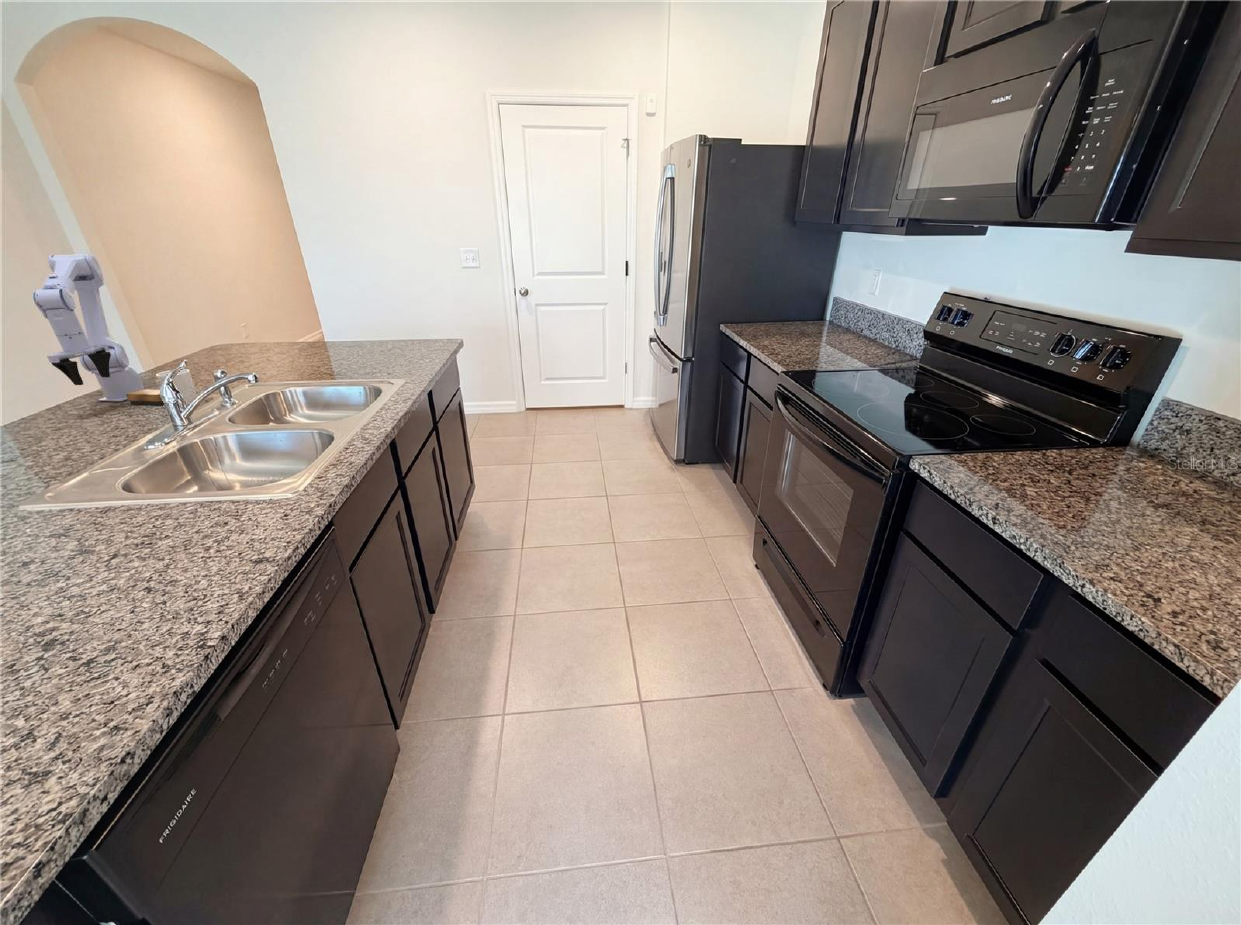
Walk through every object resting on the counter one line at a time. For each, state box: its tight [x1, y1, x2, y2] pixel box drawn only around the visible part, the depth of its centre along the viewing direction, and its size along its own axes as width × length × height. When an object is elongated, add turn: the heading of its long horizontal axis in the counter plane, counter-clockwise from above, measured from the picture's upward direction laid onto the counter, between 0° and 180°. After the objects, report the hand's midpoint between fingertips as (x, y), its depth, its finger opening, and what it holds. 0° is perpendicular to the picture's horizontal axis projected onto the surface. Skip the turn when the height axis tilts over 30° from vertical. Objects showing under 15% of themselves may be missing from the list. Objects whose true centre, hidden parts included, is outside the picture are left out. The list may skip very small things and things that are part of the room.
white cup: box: [155, 368, 198, 403], centre depth 155 cm, size 8×8×10 cm
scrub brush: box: [126, 388, 165, 406], centre depth 157 cm, size 11×4×4 cm, turn 85°
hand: (92, 380), depth 147 cm, fingers open, 7 cm apart
